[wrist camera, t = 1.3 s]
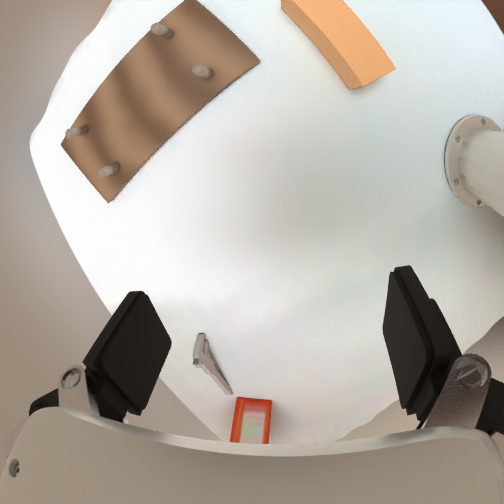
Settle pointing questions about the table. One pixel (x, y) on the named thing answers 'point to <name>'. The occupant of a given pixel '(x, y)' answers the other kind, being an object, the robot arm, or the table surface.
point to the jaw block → (340, 39)
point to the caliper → (208, 363)
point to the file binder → (251, 421)
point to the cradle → (154, 94)
